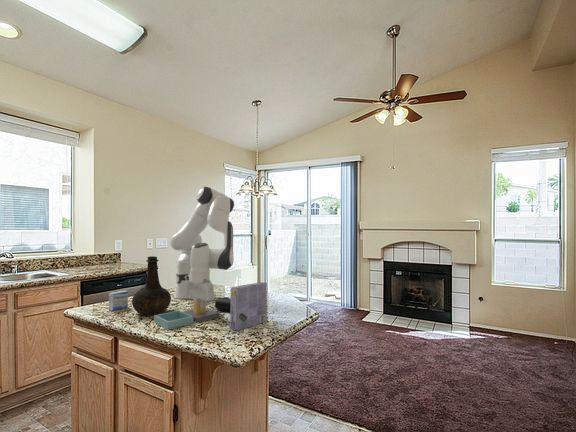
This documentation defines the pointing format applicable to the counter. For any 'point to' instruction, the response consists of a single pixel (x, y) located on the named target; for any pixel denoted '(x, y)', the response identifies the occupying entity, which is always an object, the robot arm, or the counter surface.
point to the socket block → (203, 315)
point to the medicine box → (118, 300)
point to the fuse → (196, 306)
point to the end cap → (223, 304)
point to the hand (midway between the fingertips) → (199, 307)
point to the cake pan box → (248, 305)
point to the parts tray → (173, 319)
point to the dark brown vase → (151, 292)
